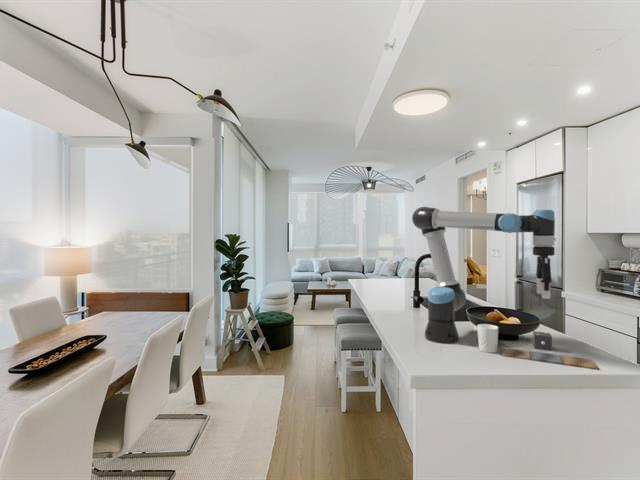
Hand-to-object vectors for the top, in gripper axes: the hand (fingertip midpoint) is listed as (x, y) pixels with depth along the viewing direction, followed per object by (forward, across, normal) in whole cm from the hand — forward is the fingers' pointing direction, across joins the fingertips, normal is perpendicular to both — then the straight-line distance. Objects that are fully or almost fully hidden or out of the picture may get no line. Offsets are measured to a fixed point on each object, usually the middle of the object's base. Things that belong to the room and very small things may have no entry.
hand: (543, 295), depth 135 cm
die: (+22, +1, 0) cm, 23 cm away
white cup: (+23, -12, +21) cm, 33 cm away
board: (+22, -13, +1) cm, 26 cm away
